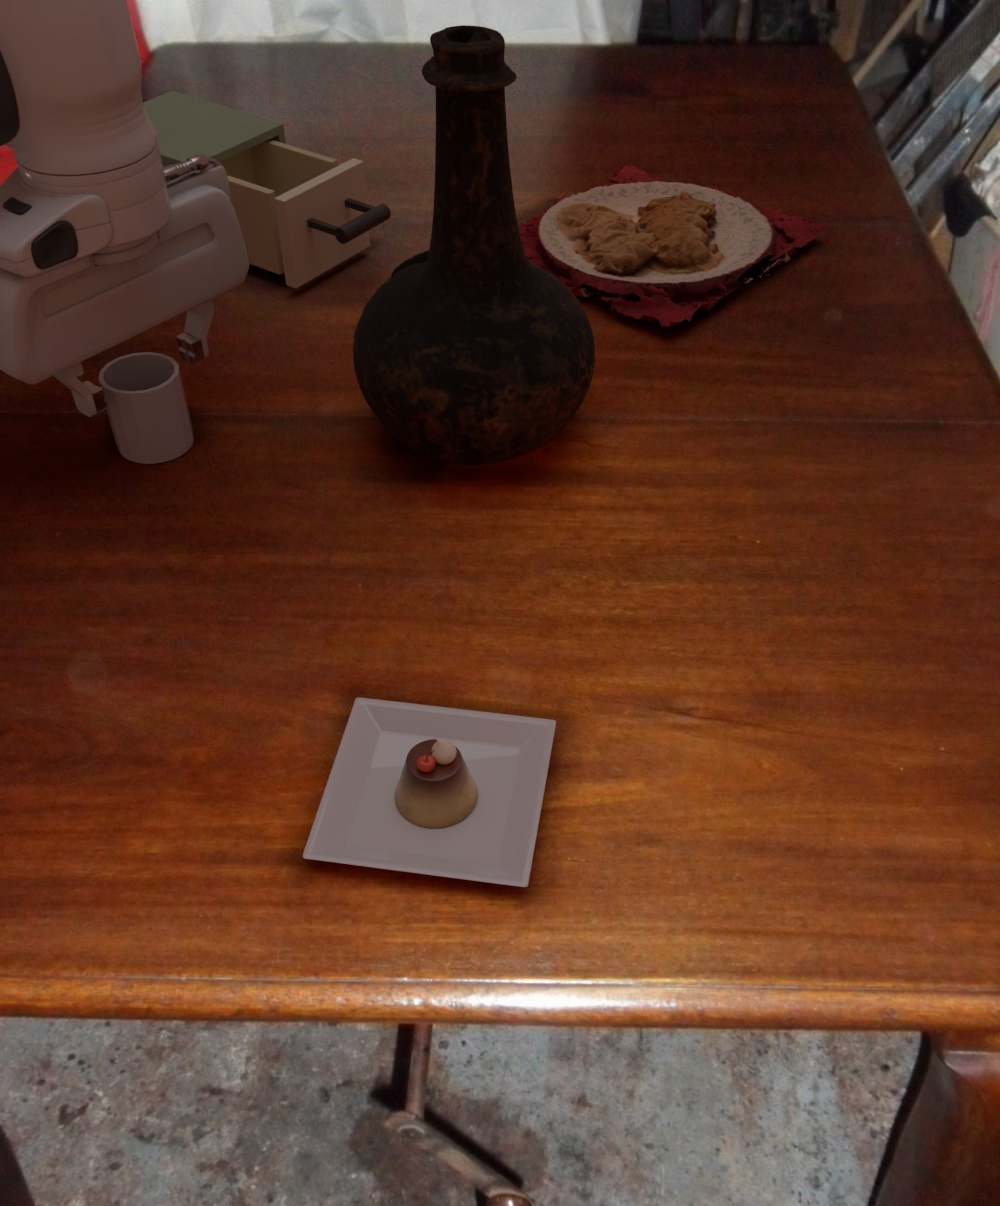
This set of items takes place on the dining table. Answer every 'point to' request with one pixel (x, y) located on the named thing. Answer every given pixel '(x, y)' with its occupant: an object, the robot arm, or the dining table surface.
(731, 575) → the dining table surface
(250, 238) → the drawer
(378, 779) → the dessert
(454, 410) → the glass bottle
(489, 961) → the dining table surface
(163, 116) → the cabinet
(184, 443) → the tin
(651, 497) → the dining table surface
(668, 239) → the plate with food
